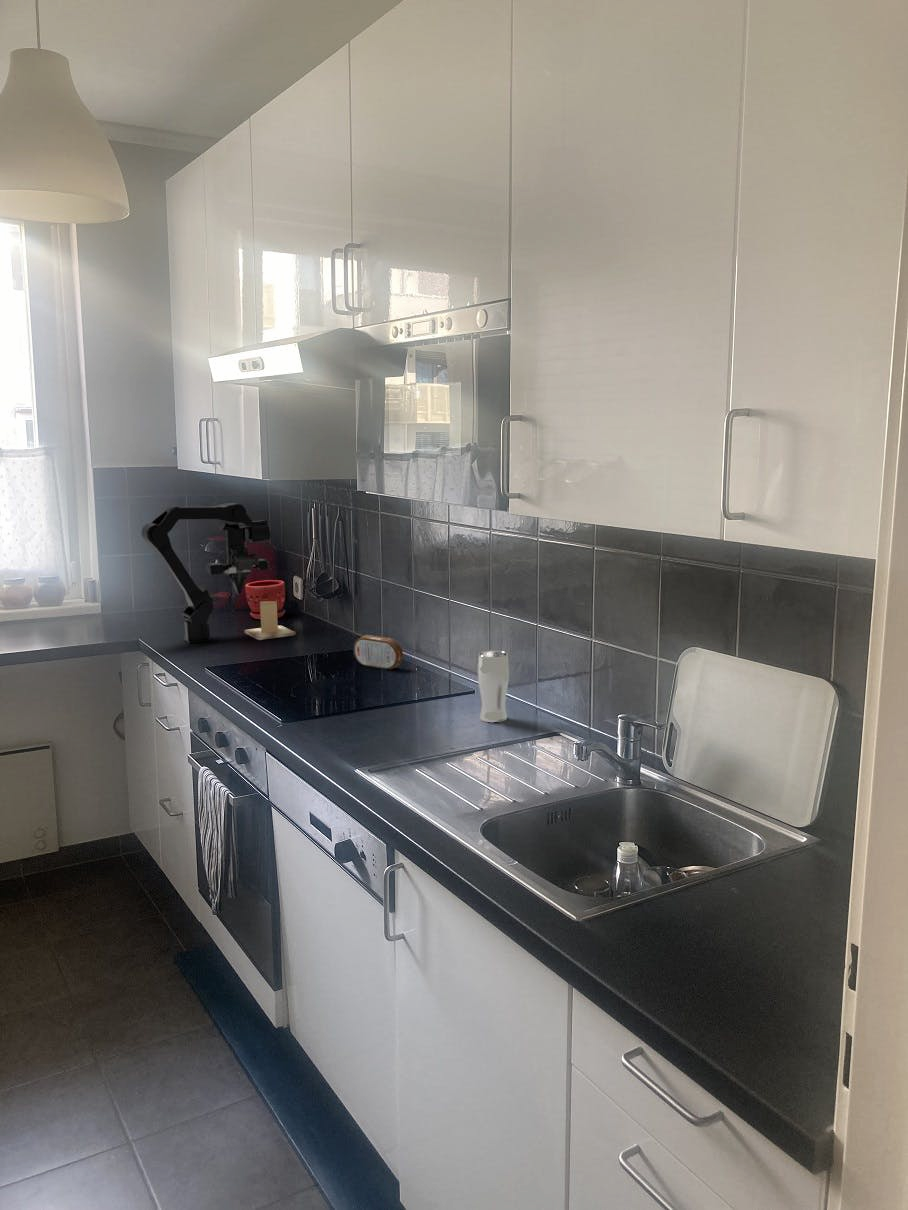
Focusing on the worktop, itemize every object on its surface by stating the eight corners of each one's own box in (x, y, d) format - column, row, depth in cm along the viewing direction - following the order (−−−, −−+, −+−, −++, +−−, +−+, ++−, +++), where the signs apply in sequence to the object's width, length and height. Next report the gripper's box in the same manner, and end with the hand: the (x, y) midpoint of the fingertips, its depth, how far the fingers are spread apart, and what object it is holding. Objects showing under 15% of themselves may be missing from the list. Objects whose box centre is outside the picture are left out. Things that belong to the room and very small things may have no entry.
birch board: (258, 640, 303) (258, 636, 303) (244, 633, 313) (244, 629, 313) (295, 635, 309) (295, 632, 309) (280, 628, 319) (280, 625, 319)
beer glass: (483, 724, 218) (482, 658, 215) (474, 715, 224) (473, 651, 222) (513, 721, 220) (513, 656, 217) (503, 713, 226) (503, 649, 223)
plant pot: (277, 612, 346) (275, 578, 344) (292, 618, 335) (290, 583, 333) (241, 616, 340) (239, 581, 337) (255, 622, 329) (253, 587, 326)
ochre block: (261, 633, 308) (260, 604, 306) (261, 629, 313) (260, 601, 311) (277, 632, 309) (276, 603, 307) (277, 628, 314) (276, 601, 312)
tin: (404, 669, 266) (403, 638, 265) (397, 672, 264) (396, 641, 262) (359, 662, 274) (358, 632, 273) (352, 665, 272) (351, 635, 270)
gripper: (215, 549, 293) (218, 601, 296) (274, 544, 303) (277, 594, 306) (203, 545, 303) (206, 595, 306) (261, 540, 312) (263, 589, 315)
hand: (238, 594), depth 308 cm, fingers closed
